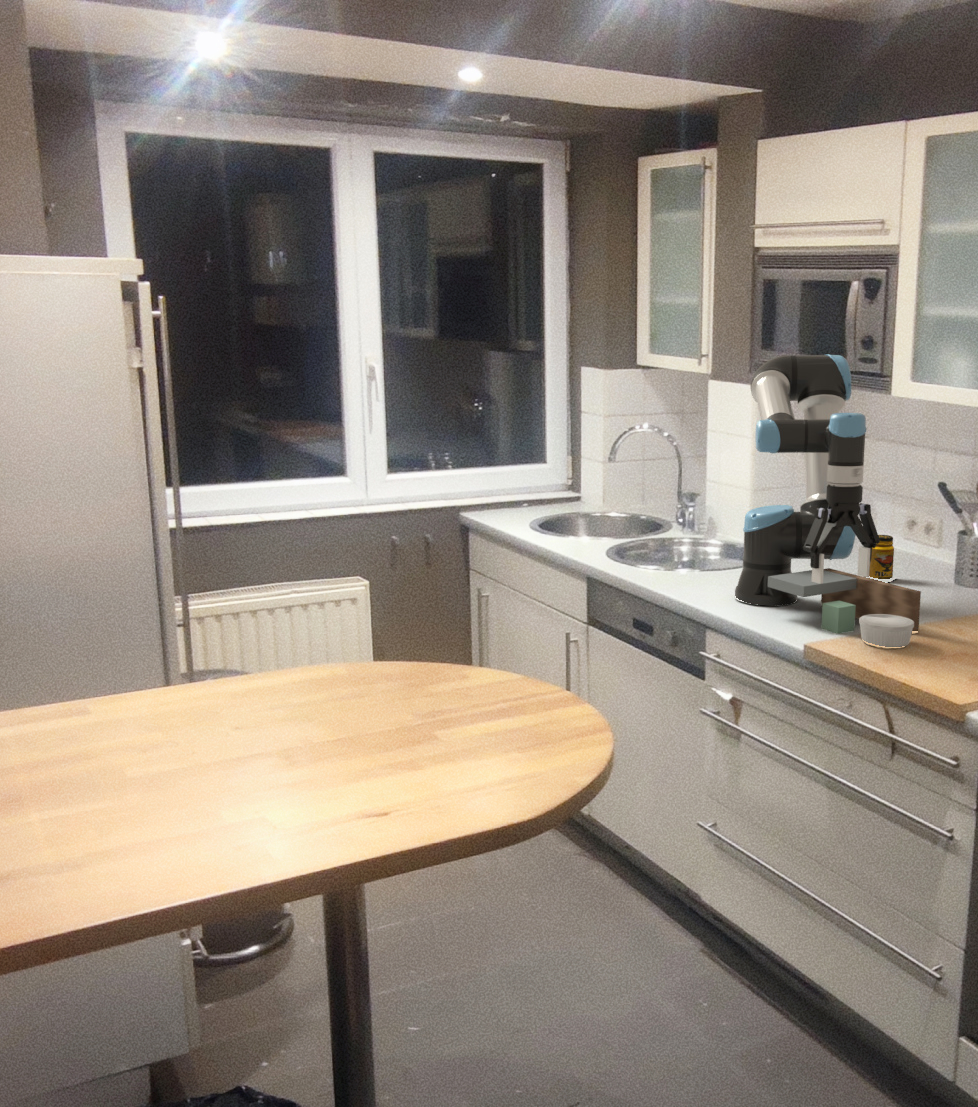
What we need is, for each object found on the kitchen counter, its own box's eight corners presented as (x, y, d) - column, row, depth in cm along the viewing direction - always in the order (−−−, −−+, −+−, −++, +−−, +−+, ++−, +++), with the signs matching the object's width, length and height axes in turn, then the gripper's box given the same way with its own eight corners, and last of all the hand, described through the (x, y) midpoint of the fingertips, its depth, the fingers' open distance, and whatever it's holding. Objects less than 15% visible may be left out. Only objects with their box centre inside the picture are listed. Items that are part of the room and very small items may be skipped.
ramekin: (896, 635, 244) (898, 612, 243) (923, 649, 233) (924, 625, 232) (848, 638, 242) (849, 614, 241) (873, 652, 231) (874, 628, 230)
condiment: (886, 584, 291) (889, 539, 289) (856, 579, 297) (858, 535, 294) (898, 579, 296) (901, 535, 294) (868, 575, 302) (870, 531, 299)
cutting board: (820, 607, 268) (822, 569, 266) (827, 606, 269) (828, 568, 267) (911, 634, 244) (914, 592, 242) (918, 633, 245) (920, 591, 243)
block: (821, 629, 250) (822, 603, 249) (838, 626, 252) (839, 600, 251) (837, 634, 245) (838, 607, 244) (854, 631, 248) (855, 605, 246)
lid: (767, 586, 260) (768, 576, 260) (819, 578, 267) (819, 568, 267) (803, 597, 250) (803, 586, 249) (856, 588, 257) (856, 578, 256)
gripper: (813, 490, 233) (809, 588, 237) (899, 482, 244) (894, 576, 248) (788, 486, 240) (785, 582, 244) (873, 478, 251) (869, 570, 255)
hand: (840, 579), depth 246 cm, fingers open, 13 cm apart
